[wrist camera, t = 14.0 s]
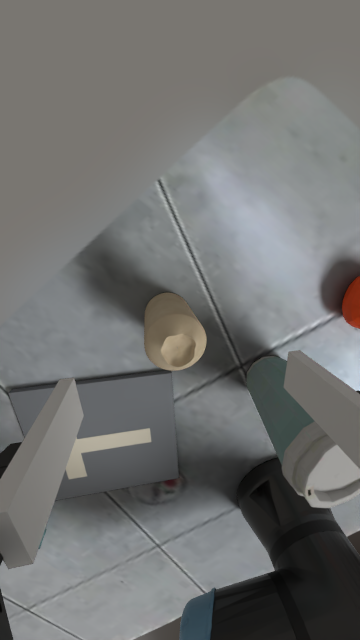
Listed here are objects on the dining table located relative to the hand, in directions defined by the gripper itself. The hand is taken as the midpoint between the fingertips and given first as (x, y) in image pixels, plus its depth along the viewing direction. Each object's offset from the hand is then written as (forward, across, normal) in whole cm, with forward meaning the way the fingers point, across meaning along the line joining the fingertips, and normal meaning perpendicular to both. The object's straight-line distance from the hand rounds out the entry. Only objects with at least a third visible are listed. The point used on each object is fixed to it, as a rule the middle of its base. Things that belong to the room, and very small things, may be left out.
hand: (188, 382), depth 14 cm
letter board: (+14, +10, +18) cm, 25 cm away
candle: (+15, 0, 0) cm, 15 cm away
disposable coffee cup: (+15, -14, +12) cm, 23 cm away
